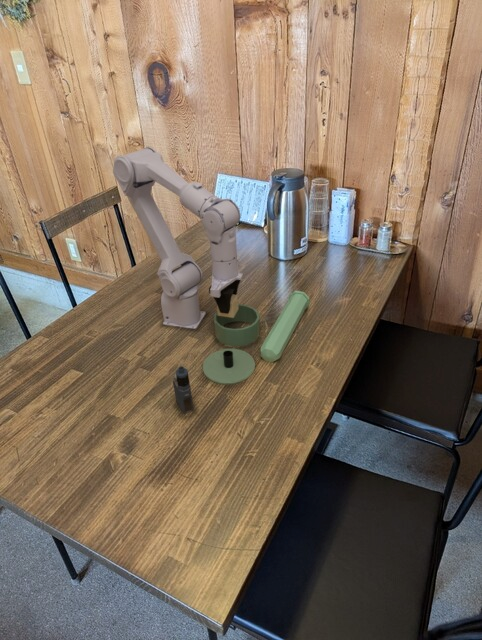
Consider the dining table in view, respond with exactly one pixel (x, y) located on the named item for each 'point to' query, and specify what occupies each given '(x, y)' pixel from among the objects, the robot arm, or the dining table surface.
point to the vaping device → (183, 390)
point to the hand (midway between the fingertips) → (227, 307)
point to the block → (231, 307)
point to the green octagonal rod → (284, 326)
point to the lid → (228, 366)
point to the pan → (242, 334)
